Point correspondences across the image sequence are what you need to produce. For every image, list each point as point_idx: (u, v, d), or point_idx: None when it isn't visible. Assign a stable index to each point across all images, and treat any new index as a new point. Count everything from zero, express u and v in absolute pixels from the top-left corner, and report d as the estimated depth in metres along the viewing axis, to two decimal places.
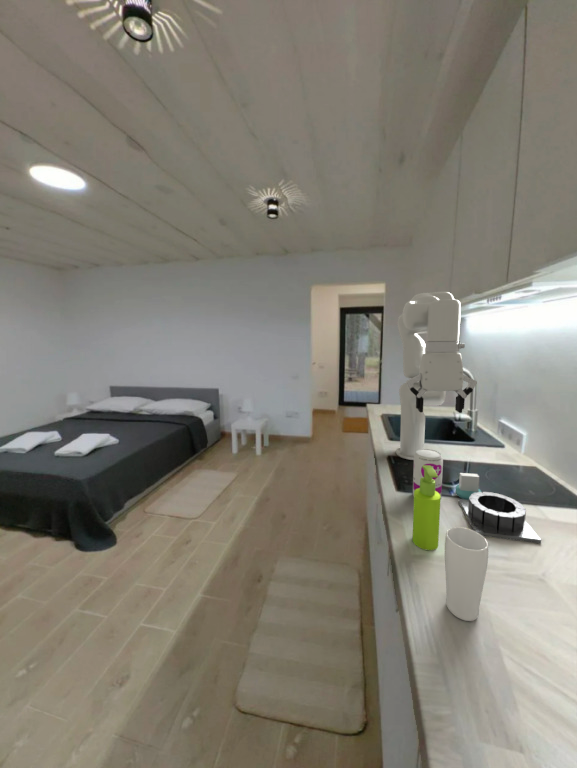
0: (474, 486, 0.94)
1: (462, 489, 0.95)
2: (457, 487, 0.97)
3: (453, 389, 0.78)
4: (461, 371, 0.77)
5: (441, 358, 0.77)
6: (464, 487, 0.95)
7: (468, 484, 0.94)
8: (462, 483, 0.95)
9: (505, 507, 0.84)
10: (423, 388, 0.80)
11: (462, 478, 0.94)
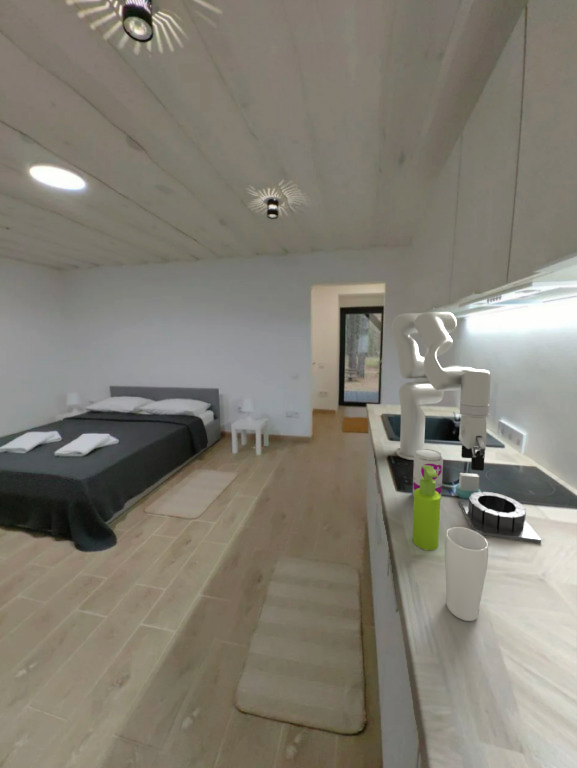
0: (474, 486, 0.94)
1: (462, 489, 0.95)
2: (457, 487, 0.97)
3: None
4: None
5: None
6: (464, 487, 0.95)
7: (468, 484, 0.94)
8: (462, 483, 0.95)
9: (505, 507, 0.84)
10: None
11: (462, 478, 0.94)
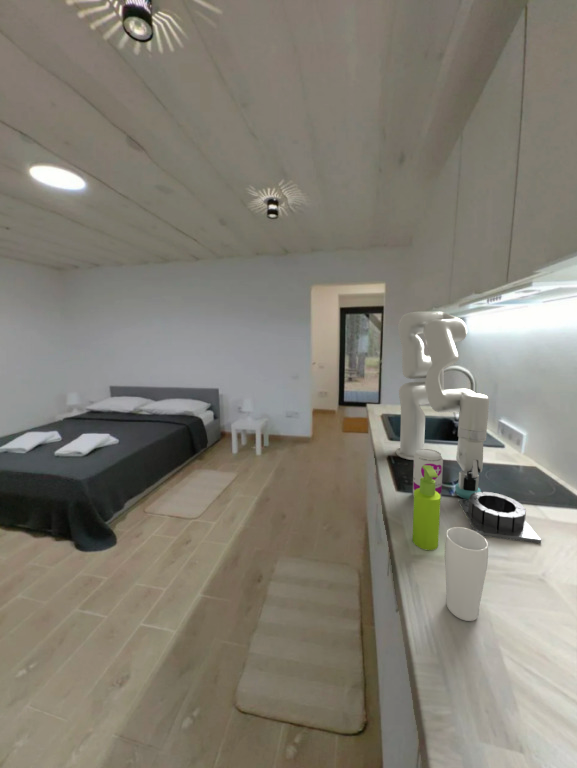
0: None
1: (461, 488, 0.95)
2: (457, 486, 0.97)
3: None
4: None
5: None
6: None
7: None
8: (461, 482, 0.95)
9: (505, 507, 0.84)
10: (480, 471, 0.90)
11: (462, 477, 0.95)
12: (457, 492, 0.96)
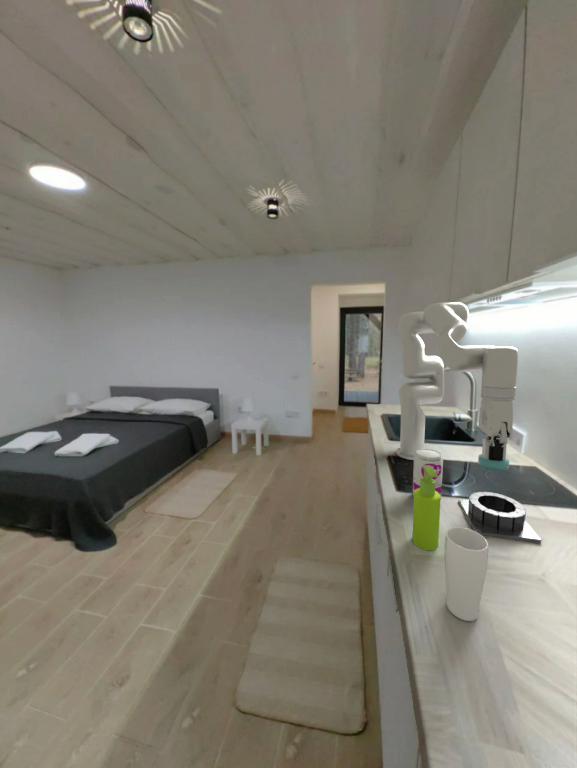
0: None
1: (486, 458, 0.82)
2: (480, 456, 0.84)
3: None
4: None
5: None
6: None
7: None
8: (486, 451, 0.82)
9: (505, 507, 0.84)
10: (510, 436, 0.77)
11: (487, 445, 0.82)
12: (481, 463, 0.82)
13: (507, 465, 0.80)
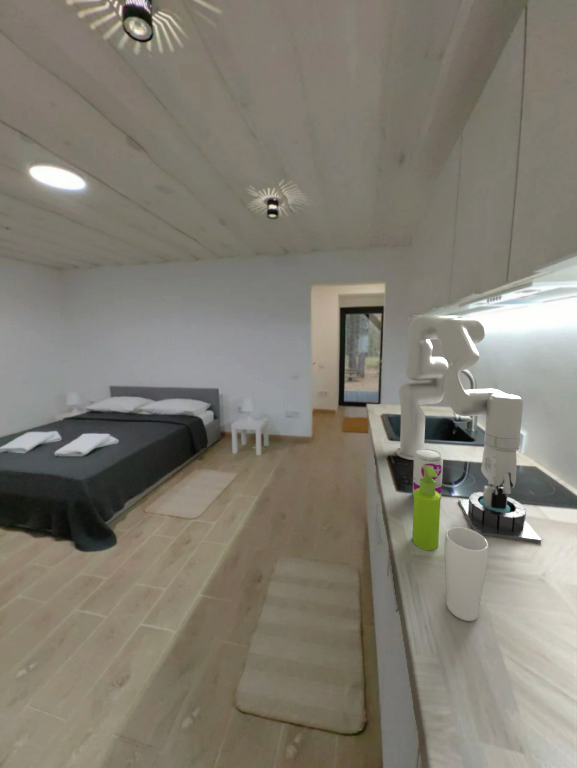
0: None
1: (487, 504, 0.82)
2: (481, 502, 0.84)
3: None
4: None
5: None
6: (490, 502, 0.81)
7: None
8: (487, 498, 0.81)
9: None
10: (513, 486, 0.76)
11: (488, 492, 0.81)
12: None
13: None
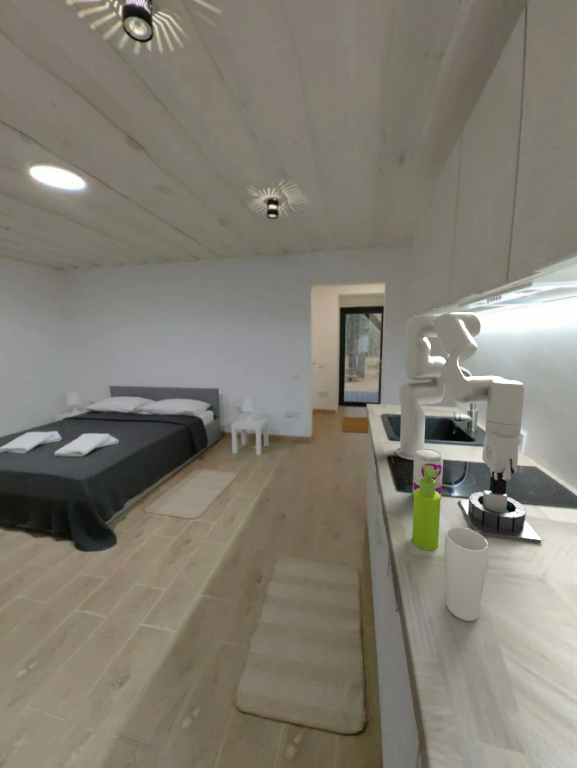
0: (501, 507, 0.81)
1: None
2: None
3: None
4: None
5: None
6: (489, 507, 0.82)
7: (494, 504, 0.81)
8: (487, 503, 0.82)
9: None
10: (514, 473, 0.75)
11: (487, 497, 0.81)
12: None
13: None
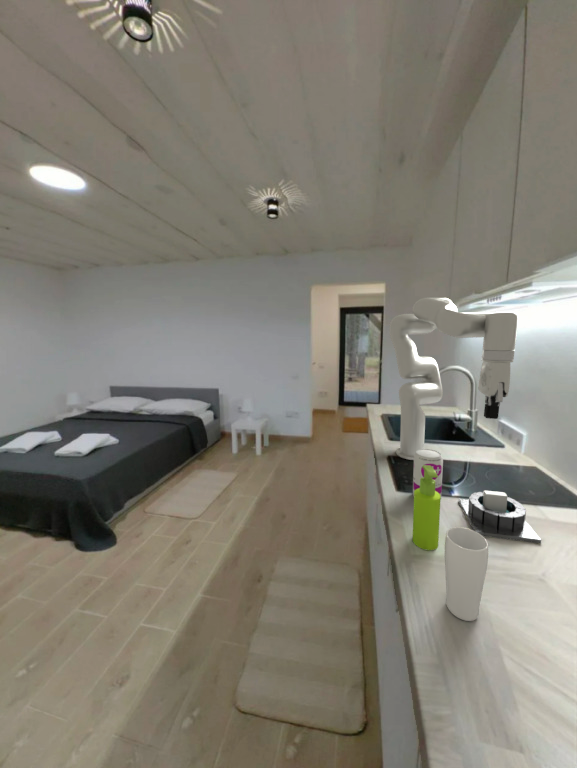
0: (501, 507, 0.81)
1: None
2: None
3: None
4: None
5: None
6: (489, 507, 0.82)
7: (494, 504, 0.81)
8: (487, 503, 0.82)
9: None
10: (506, 395, 0.83)
11: (487, 497, 0.81)
12: None
13: None
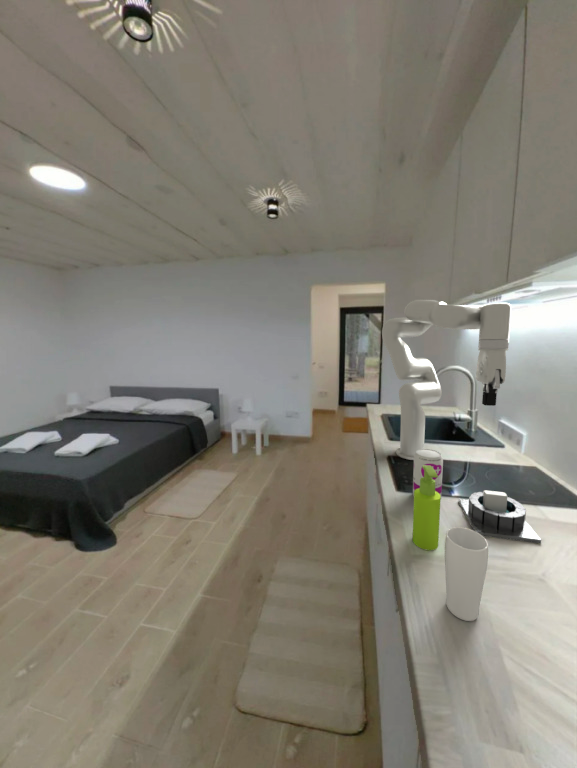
0: (501, 507, 0.81)
1: None
2: None
3: None
4: None
5: None
6: (489, 507, 0.82)
7: (494, 504, 0.81)
8: (486, 502, 0.82)
9: None
10: (503, 382, 0.87)
11: (487, 497, 0.81)
12: None
13: None
